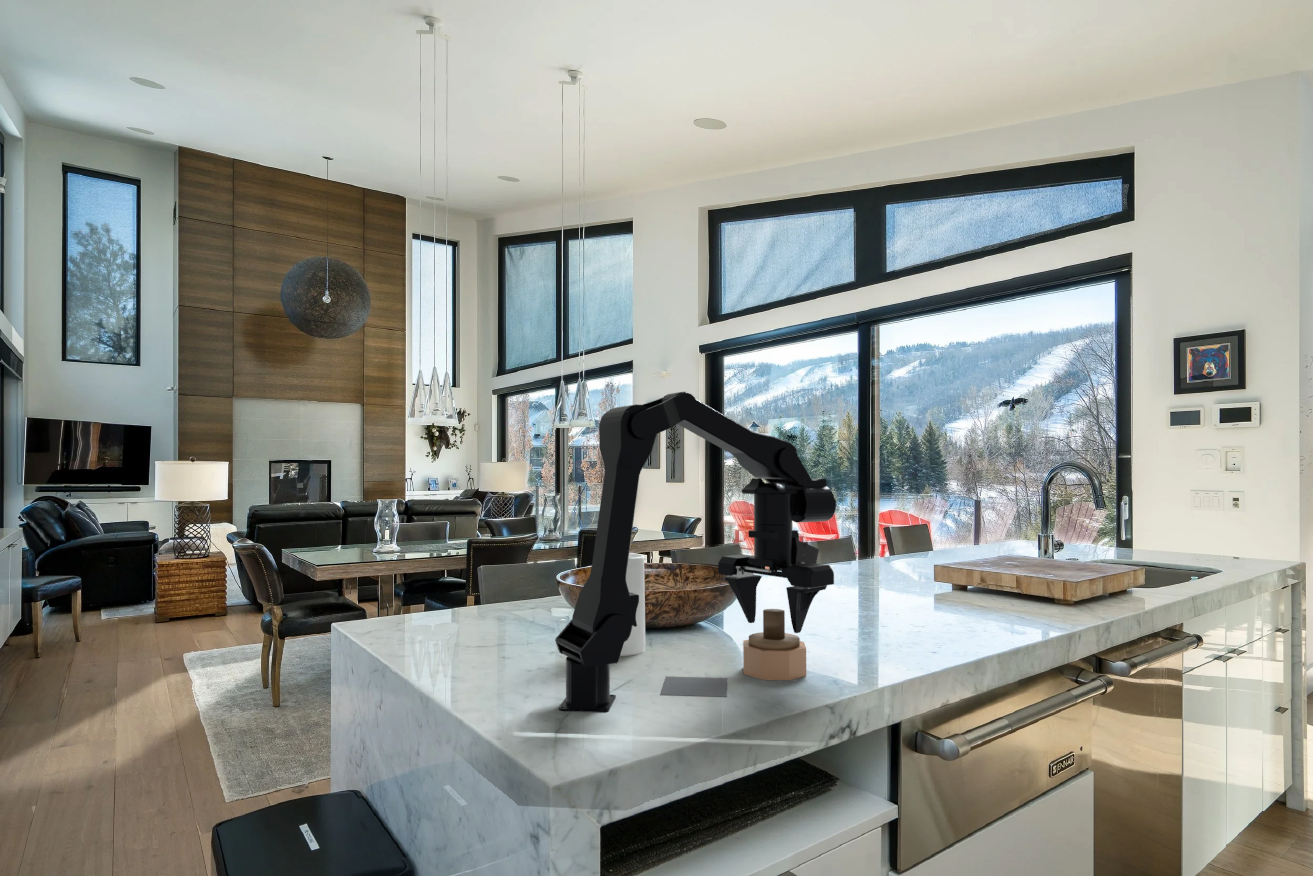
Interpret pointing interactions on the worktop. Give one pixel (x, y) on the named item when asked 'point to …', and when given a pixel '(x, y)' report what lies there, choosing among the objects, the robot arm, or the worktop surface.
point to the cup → (638, 587)
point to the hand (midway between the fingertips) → (773, 627)
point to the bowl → (774, 662)
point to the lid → (774, 633)
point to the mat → (695, 686)
